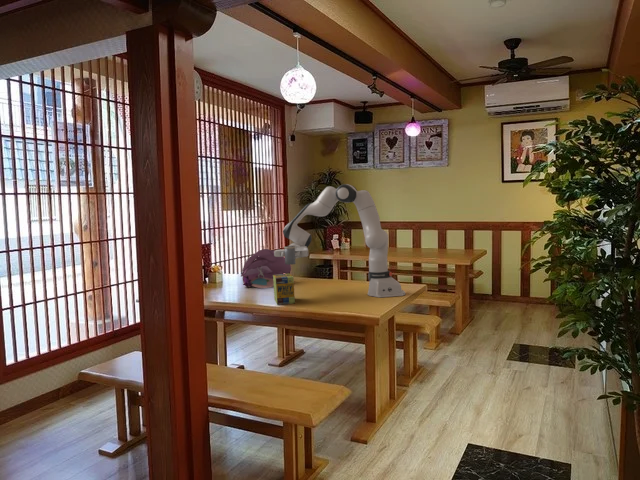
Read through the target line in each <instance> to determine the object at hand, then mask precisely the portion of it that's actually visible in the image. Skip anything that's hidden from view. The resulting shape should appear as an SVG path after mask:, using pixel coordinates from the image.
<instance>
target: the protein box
mask: <svg viewBox="0 0 640 480" xmlns="http://www.w3.org/2000/svg"><path fill="white" fill-rule="evenodd" d="M273 282H274V286H273V296H274V301H275V303H276V305H277V306H280V305H291V304H296V302H295V300H296V298H295V296H296V295H295V281H294V276H293V275H292V274H291V273H283V274H275V275H273Z"/></svg>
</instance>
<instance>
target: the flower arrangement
mask: <svg viewBox="0 0 640 480" xmlns="http://www.w3.org/2000/svg"><path fill="white" fill-rule="evenodd" d="M274 251H275V249H269V248H263V249H260V250H258V251H257V252H254V253H253V254H252V255H250V256H249V257H248V258H247V259H246V261H245V262H244V265H243V267H242V270H241V275H240V277H242V285H243V286H245V287H255V288H259V289H266V288H267V289H268V288H272V287H273V288H274V282H273V275H275V274H291V271H292V266H291V265H287V264H285V257H275V256H274Z"/></svg>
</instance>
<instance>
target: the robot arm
mask: <svg viewBox="0 0 640 480" xmlns="http://www.w3.org/2000/svg"><path fill="white" fill-rule="evenodd" d="M338 202H341V203H345V204H349V203H353V204H354V205H355V208H356V210H357V213H358V217H359V220H360V222H361V226H362V229H363V230H362V232H363V235H364V242H365V245H366V246H367V247H368V248H369V255H368V281H369V284H368V291H367V296H368V297H369V296H370V297H375V298H391V297H403V296H406V291H405V290H403V289H402V285H401V283H400V282H399V281H397V280H396V279H395V278H393V277H392V276H393V272H392V271H390V270H388V269H389V267H388V254H389V250H388V249H389V234H388V233H387V231H386V230H384V229H383V228H382V224H381V220H380V215H379V211H378V209H377V206H376V203H375V200H374V199H373V197H372V195H371V193H370V192H369V191H368V190H364V189H362V190H357V188H356V186H354V185H351V184H348V183H343V184H341V185H339V186H338V187H337V188H335V187H334V186H330V185H328V186H326V187H325V188H324V189H323V190H322V191H321V192H320V194H319V195H318V197H317V198H316V199H315V200H314V202H311V203H309V202H308V203H307V204H306V205H304V207H303V208H302V209H301V210H300V211H299V212H298V213H297V214H296V215H295V217H293V219H291V221H289V222H288V223H287V224H286V225H285V226H284V227H283V230H282V233H283V236H284V238H286V239H288V240H290V241H292V243H290V244H289V245H288V246H295V260H296V259H300V258H306V257H308V256H309V248H308V247H309V246H310V244H311V243H312V238H313V237H312V234H311V233H309V232H308V231H307V230H305V229H303V228H301V227H300V226H298V224H299V223H300V222H301V221H302V219H303V218H304V217H305V216H315V217H326V216H328V215H329V214H330V213H331V211H332V210H333V208H334V206H335V205H336V204H337V203H338ZM274 250H275V249H274ZM274 256H275V257H284V258H285V249H284V248H283V249H282V248H281V249H276V250H275V251H274Z"/></svg>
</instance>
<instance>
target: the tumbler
mask: <svg viewBox="0 0 640 480" xmlns="http://www.w3.org/2000/svg"><path fill="white" fill-rule="evenodd" d="M283 249H285V257H284V258H285V264H287V265H290V266H291V265H296V259H295V246H289V245H287V246H284V247H283Z"/></svg>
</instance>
